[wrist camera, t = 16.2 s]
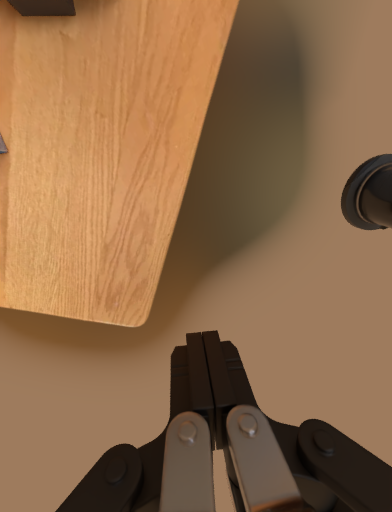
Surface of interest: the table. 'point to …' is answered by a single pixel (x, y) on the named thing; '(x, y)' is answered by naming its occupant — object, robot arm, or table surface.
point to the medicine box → (2, 146)
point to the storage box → (43, 7)
